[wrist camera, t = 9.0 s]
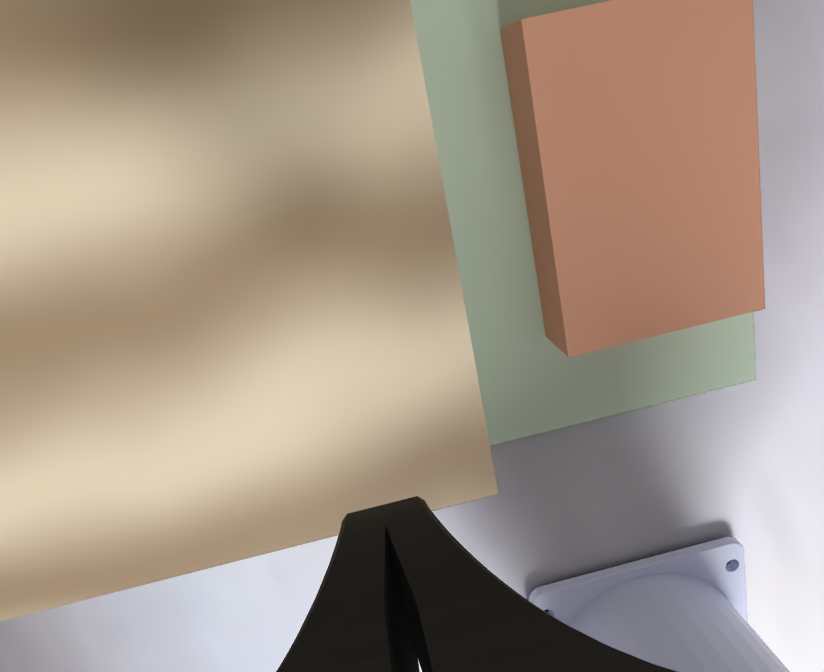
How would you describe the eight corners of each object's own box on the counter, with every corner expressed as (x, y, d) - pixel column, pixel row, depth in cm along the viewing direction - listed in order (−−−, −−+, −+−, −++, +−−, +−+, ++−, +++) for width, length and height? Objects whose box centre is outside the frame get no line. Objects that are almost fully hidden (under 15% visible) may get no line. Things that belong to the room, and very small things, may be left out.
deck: (466, 431, 23) (498, 494, 19) (-33, 554, 22) (-103, 647, 18) (377, -41, 19) (396, -78, 15) (-260, 83, 17) (-416, 75, 14)
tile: (568, 357, 20) (545, 336, 22) (764, 308, 21) (726, 291, 23) (521, 19, 17) (499, 28, 19) (751, -30, 18) (708, -16, 20)
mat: (748, 375, 24) (755, 379, 24) (475, 443, 23) (478, 448, 23) (727, -129, 19) (735, -134, 19) (380, -63, 18) (382, -67, 18)
